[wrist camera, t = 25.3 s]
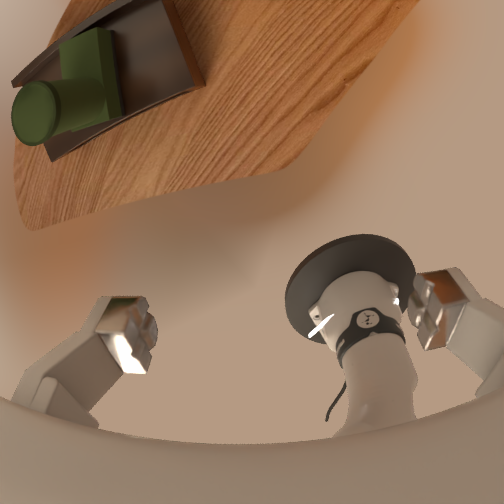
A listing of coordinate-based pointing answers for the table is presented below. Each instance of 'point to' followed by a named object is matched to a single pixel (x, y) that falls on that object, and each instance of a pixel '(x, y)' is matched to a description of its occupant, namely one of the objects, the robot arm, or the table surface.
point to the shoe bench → (127, 64)
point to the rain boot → (72, 91)
